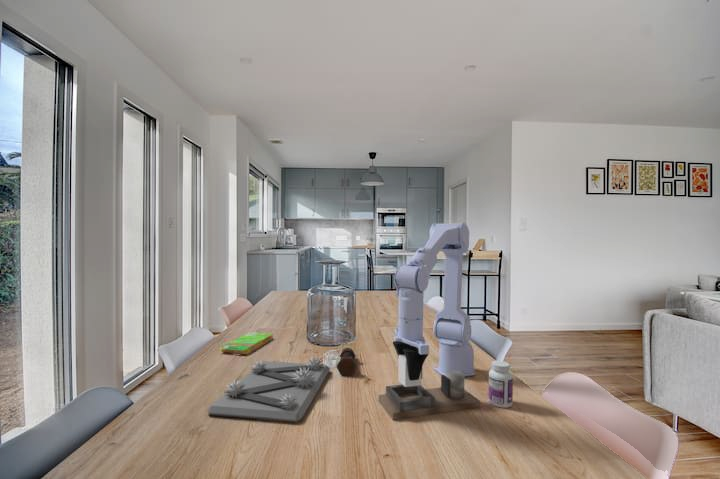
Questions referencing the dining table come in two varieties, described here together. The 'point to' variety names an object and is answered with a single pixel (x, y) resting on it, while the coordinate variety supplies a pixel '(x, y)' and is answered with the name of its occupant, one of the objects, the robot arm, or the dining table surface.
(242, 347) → the game box
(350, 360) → the bolt
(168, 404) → the dining table surface
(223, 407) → the grey spiky zigzag board
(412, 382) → the white block
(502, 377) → the pill bottle
